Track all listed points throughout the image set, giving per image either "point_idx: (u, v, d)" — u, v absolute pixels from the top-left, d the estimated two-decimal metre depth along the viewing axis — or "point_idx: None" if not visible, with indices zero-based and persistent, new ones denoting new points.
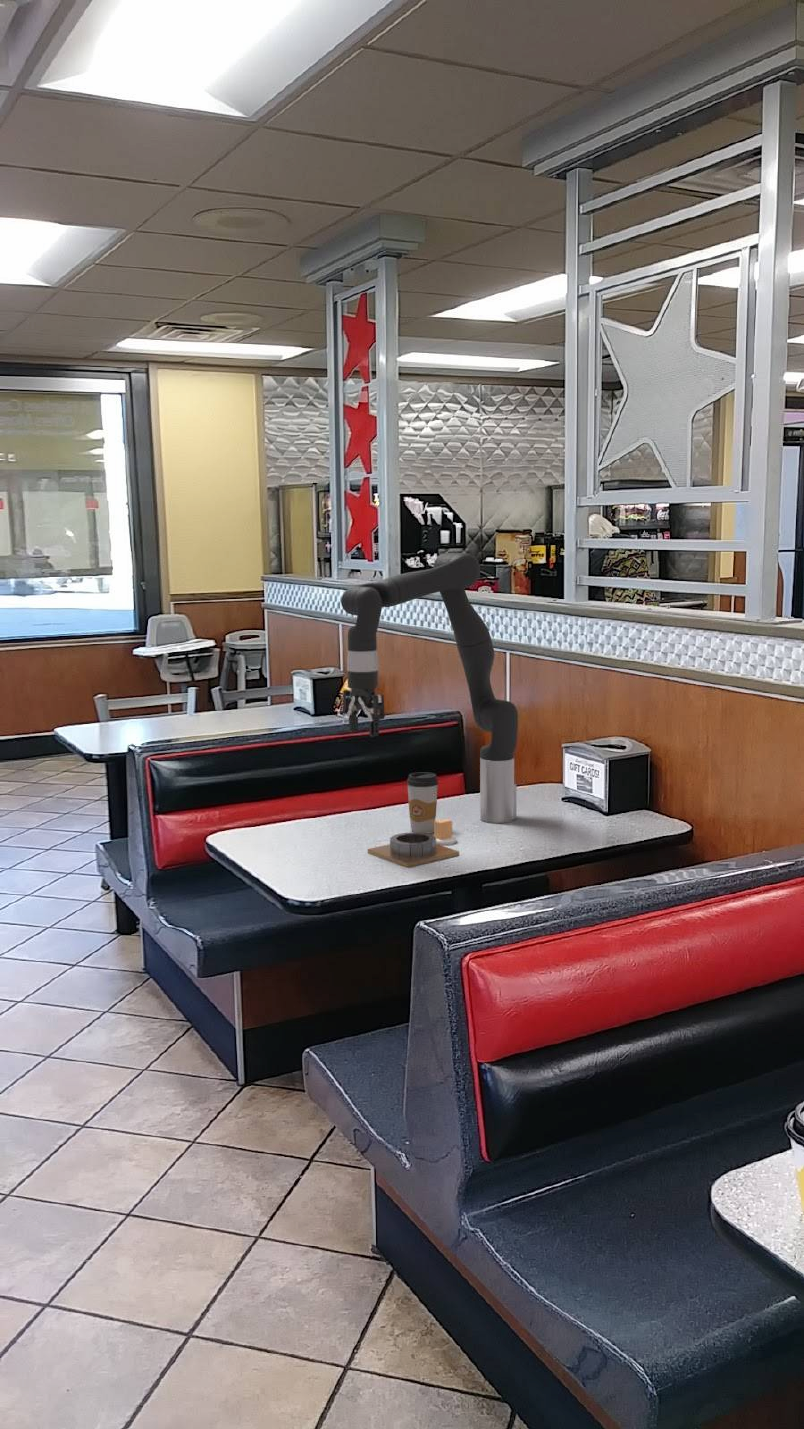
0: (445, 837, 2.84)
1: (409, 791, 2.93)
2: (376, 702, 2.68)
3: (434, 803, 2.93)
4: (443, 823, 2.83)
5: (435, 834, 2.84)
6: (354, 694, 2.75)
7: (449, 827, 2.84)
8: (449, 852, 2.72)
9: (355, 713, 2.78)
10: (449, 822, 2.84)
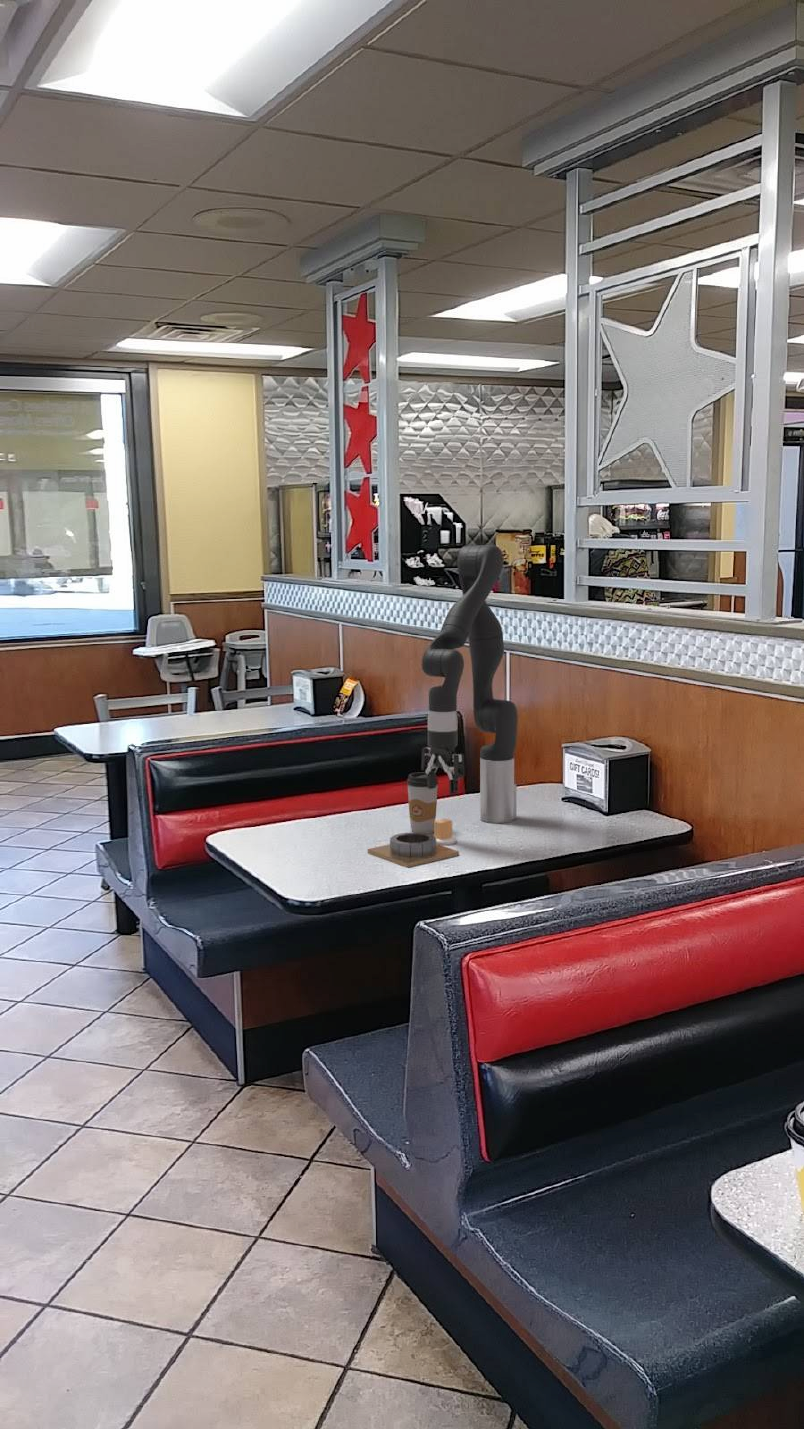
0: (445, 837, 2.84)
1: (409, 791, 2.93)
2: (457, 761, 2.76)
3: (434, 803, 2.93)
4: (443, 823, 2.83)
5: (435, 834, 2.84)
6: (433, 752, 2.83)
7: (449, 827, 2.84)
8: (449, 852, 2.72)
9: (433, 770, 2.86)
10: (449, 822, 2.84)
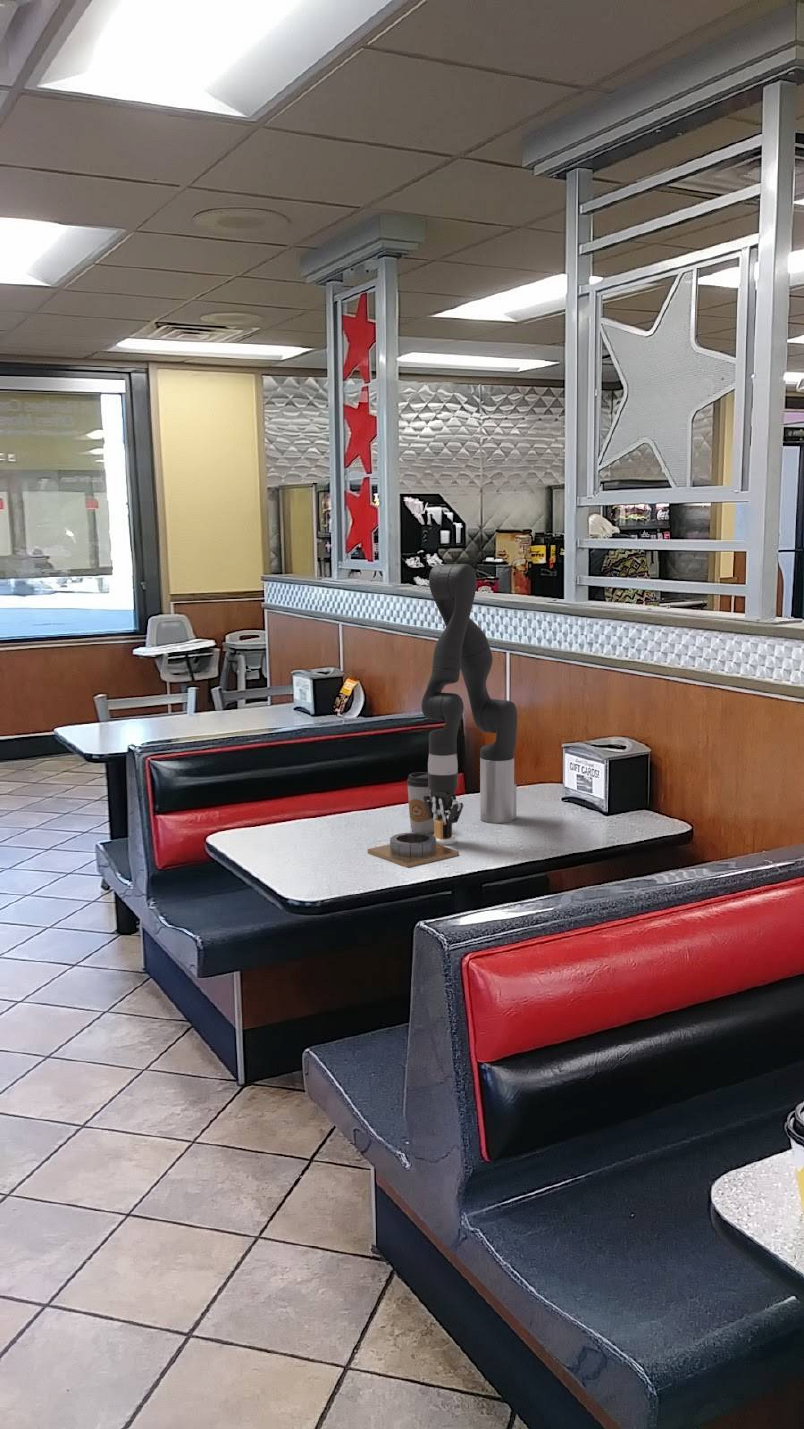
0: None
1: (409, 791, 2.93)
2: (455, 811, 2.79)
3: None
4: None
5: (435, 834, 2.84)
6: (433, 796, 2.85)
7: None
8: (449, 852, 2.72)
9: (440, 817, 2.86)
10: None
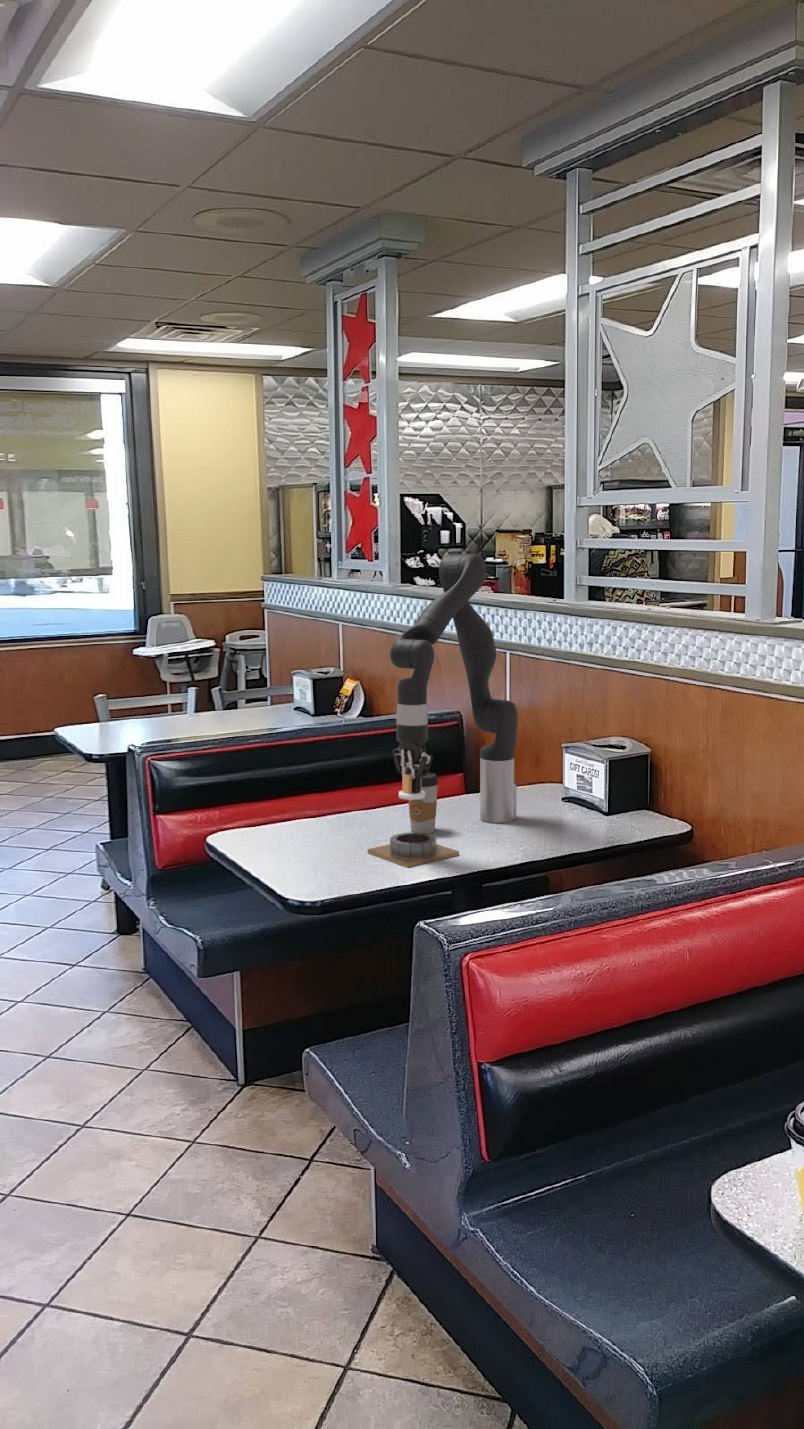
0: None
1: None
2: (424, 763, 2.66)
3: (434, 803, 2.93)
4: None
5: (403, 788, 2.71)
6: (402, 749, 2.72)
7: None
8: (449, 852, 2.72)
9: (409, 771, 2.73)
10: None
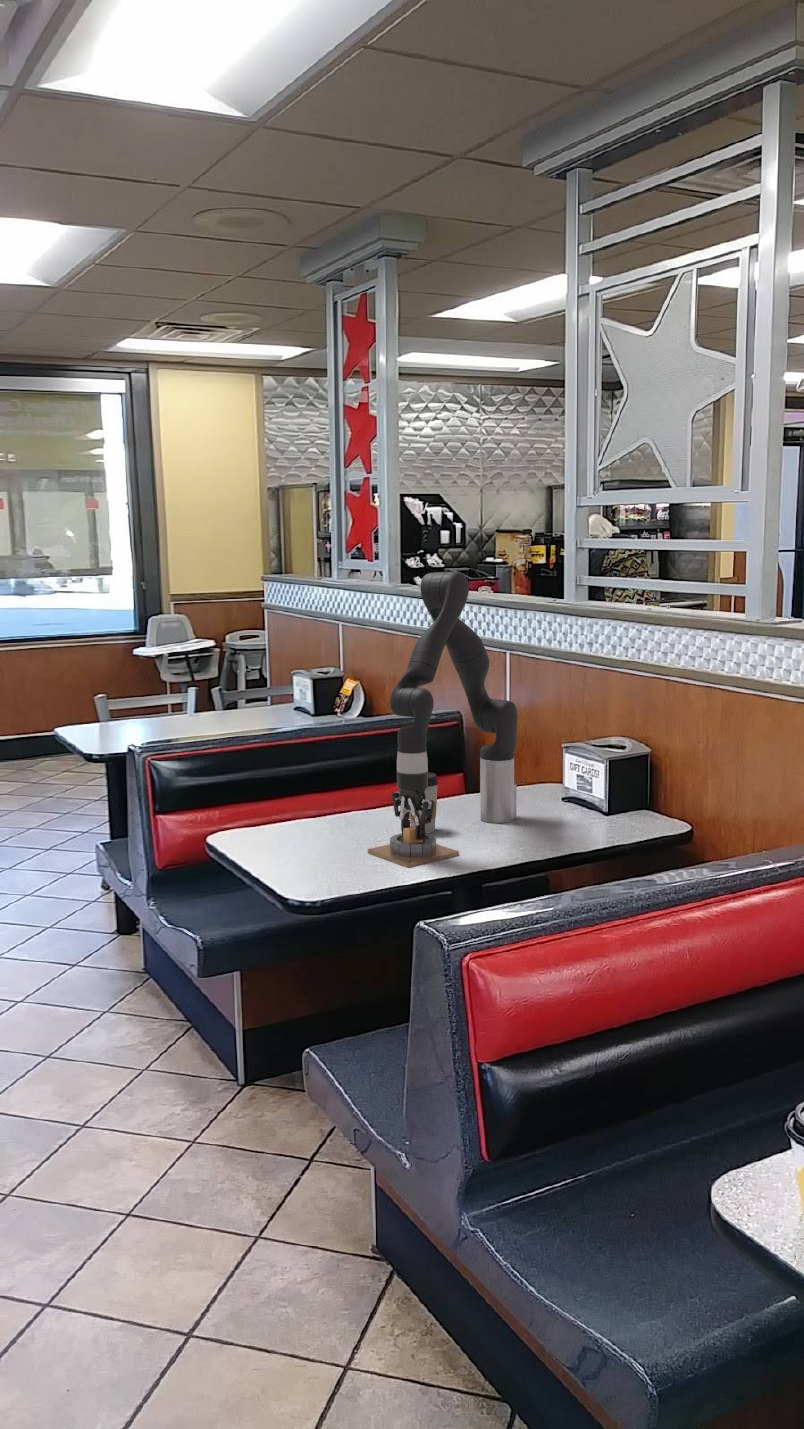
0: None
1: None
2: (426, 809, 2.67)
3: (434, 803, 2.93)
4: (413, 830, 2.72)
5: None
6: (403, 795, 2.73)
7: None
8: (449, 852, 2.72)
9: (407, 815, 2.75)
10: None
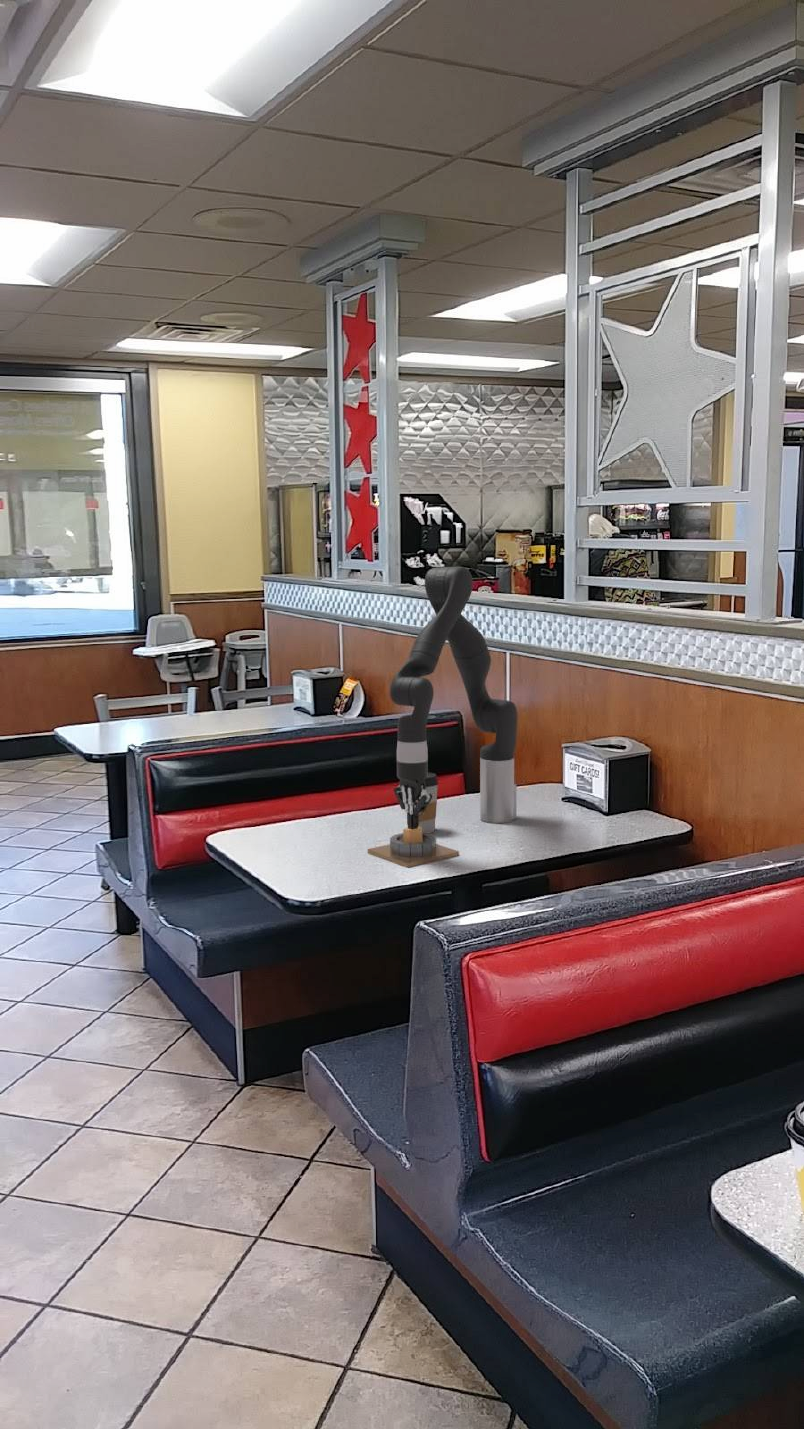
0: None
1: None
2: (423, 802, 2.67)
3: (434, 803, 2.93)
4: (412, 830, 2.72)
5: None
6: None
7: (419, 835, 2.73)
8: (449, 852, 2.72)
9: None
10: (419, 829, 2.73)
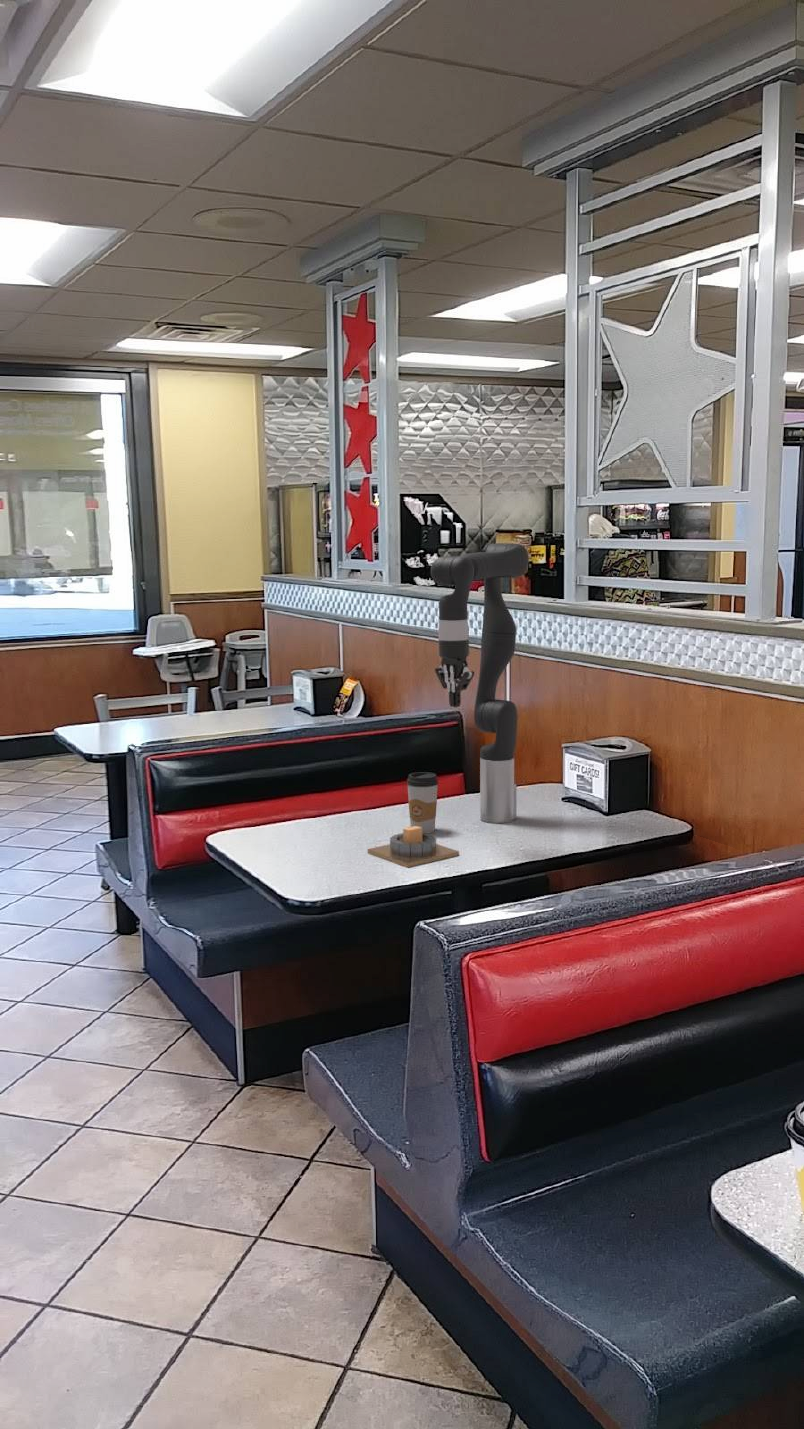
0: None
1: (409, 791, 2.93)
2: (465, 679, 2.73)
3: (434, 803, 2.93)
4: (412, 830, 2.72)
5: None
6: None
7: (419, 835, 2.73)
8: (449, 852, 2.72)
9: None
10: (419, 829, 2.73)
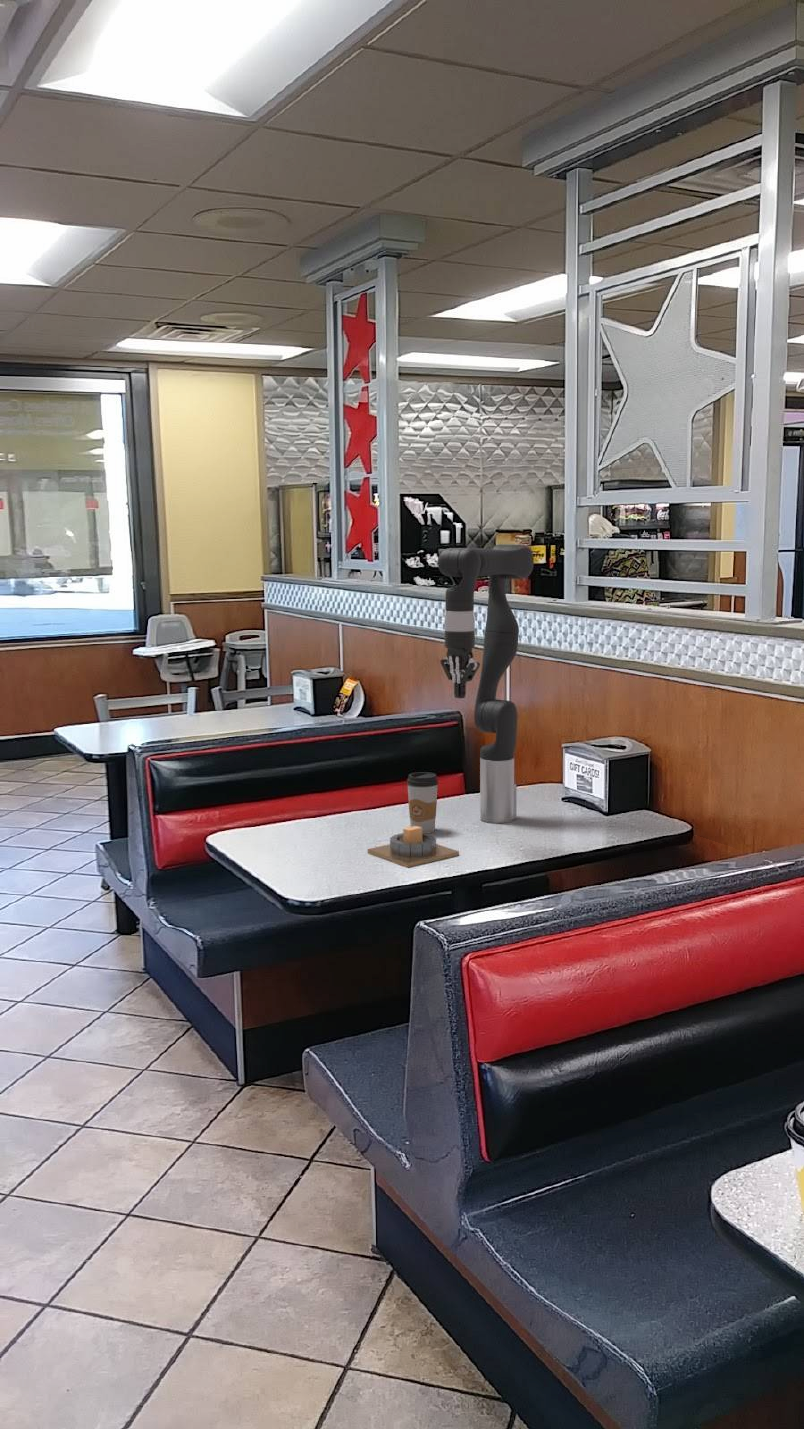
0: None
1: (409, 791, 2.93)
2: (470, 670, 2.74)
3: (434, 803, 2.93)
4: (412, 830, 2.72)
5: None
6: None
7: (419, 835, 2.73)
8: (449, 852, 2.72)
9: None
10: (419, 829, 2.73)
